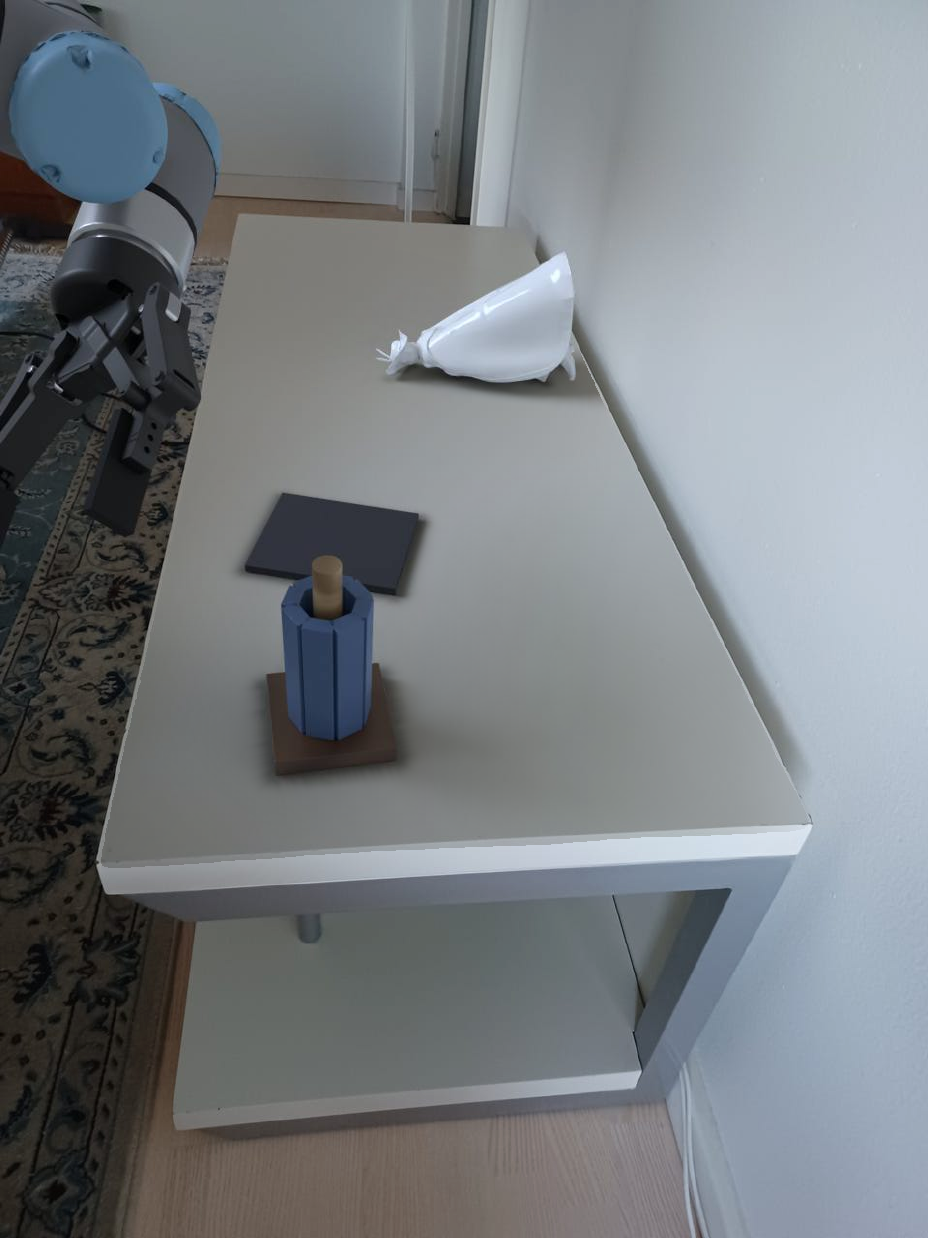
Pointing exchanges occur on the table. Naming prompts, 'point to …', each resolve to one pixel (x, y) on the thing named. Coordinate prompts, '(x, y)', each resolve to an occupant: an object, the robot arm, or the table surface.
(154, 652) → the table surface
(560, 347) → the knotted white bag
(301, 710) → the sleeve
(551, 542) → the table surface
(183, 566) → the table surface
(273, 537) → the mat
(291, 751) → the dowel stand
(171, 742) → the table surface
